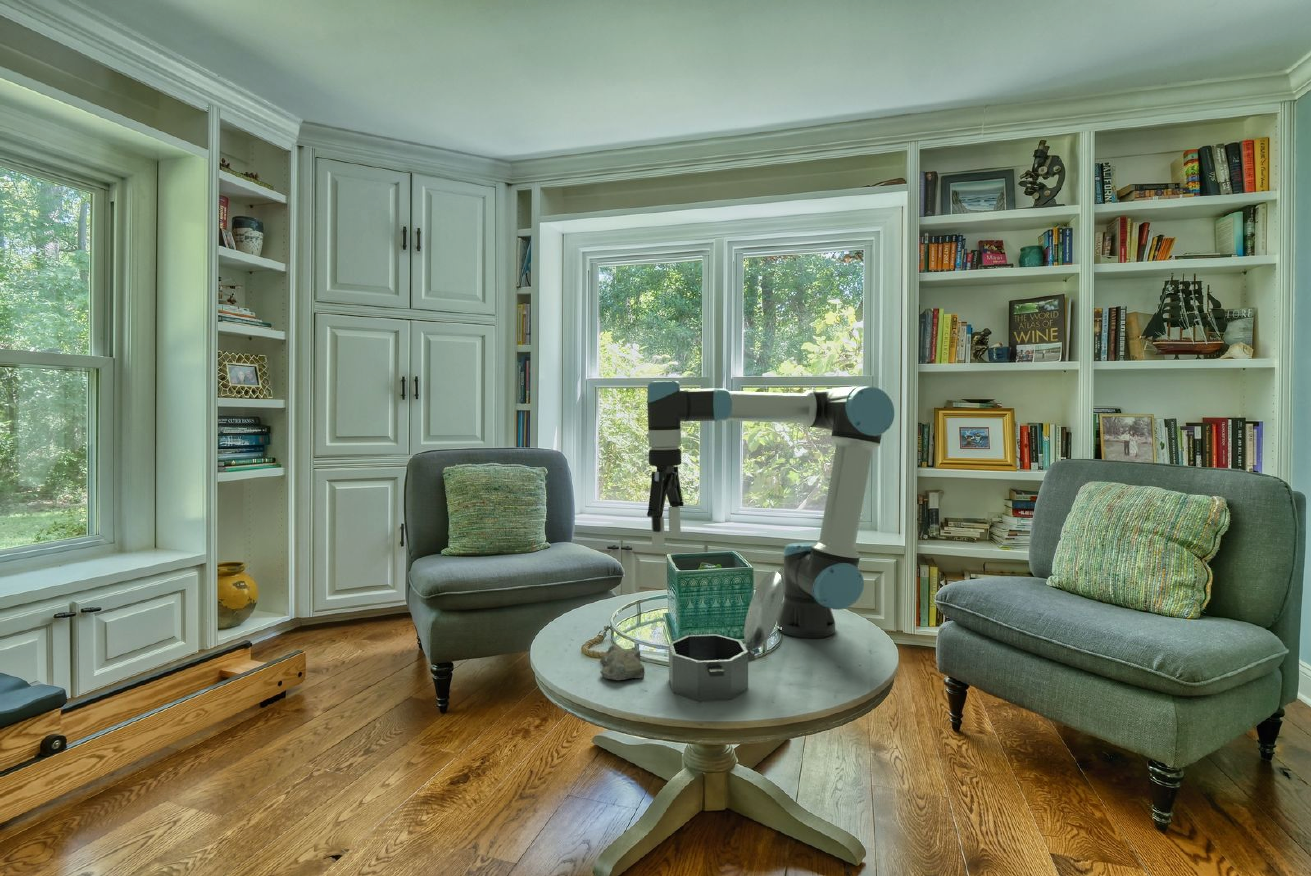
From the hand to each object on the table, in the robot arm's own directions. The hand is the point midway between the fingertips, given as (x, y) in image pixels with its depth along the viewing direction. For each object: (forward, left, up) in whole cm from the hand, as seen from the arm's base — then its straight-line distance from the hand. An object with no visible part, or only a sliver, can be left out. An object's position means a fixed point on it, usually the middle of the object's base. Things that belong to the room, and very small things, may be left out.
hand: (666, 539), depth 157 cm
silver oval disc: (-19, +14, -13) cm, 27 cm away
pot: (-7, +14, -29) cm, 33 cm away
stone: (+11, +4, -29) cm, 31 cm away
